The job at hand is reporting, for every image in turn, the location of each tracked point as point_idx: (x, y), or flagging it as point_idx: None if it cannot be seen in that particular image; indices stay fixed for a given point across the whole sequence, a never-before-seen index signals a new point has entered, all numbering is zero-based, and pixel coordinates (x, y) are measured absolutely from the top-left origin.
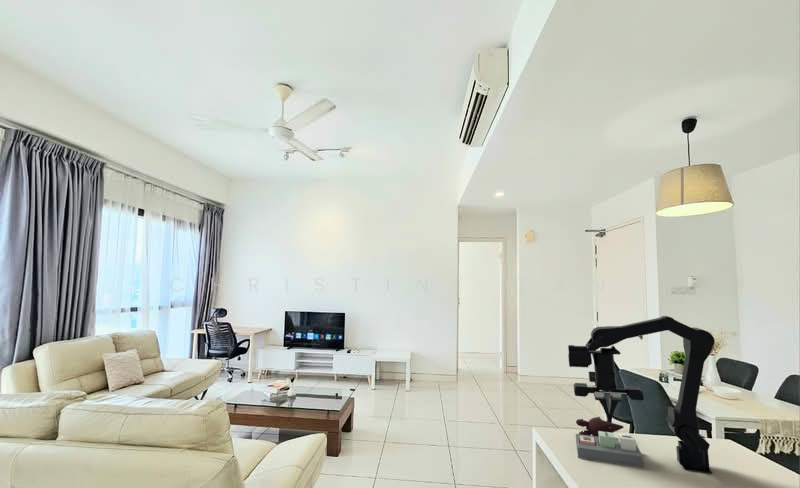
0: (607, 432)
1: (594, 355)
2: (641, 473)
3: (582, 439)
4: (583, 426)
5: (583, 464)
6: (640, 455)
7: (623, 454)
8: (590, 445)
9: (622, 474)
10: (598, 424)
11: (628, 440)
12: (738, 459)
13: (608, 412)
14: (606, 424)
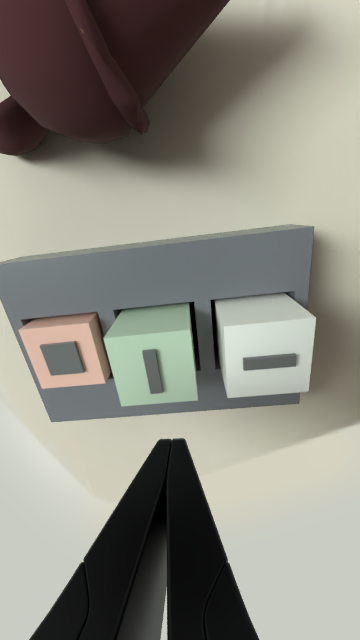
0: (159, 338)
1: None
2: (265, 416)
3: (47, 375)
4: None
5: (96, 429)
6: (292, 396)
7: (224, 406)
8: (93, 384)
9: (207, 442)
10: (76, 100)
11: (269, 391)
12: None
13: (163, 586)
14: (140, 34)
